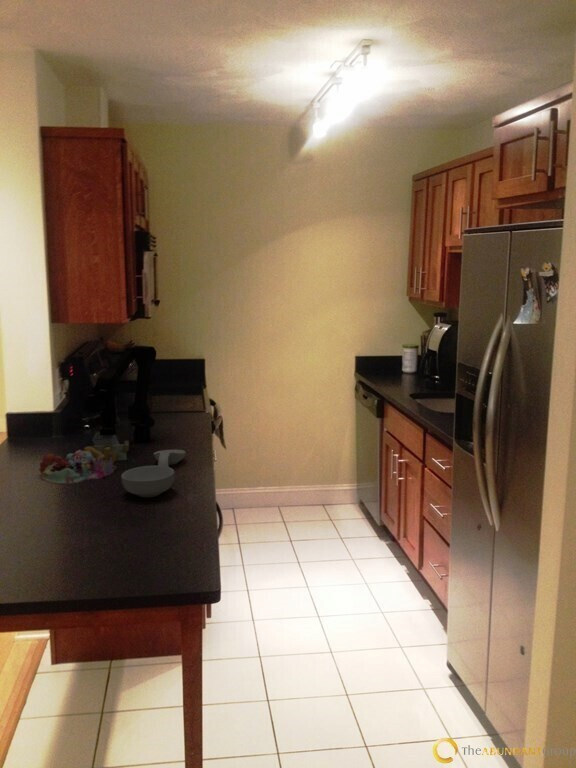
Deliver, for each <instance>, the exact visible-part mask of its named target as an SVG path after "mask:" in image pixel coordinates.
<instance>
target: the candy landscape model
mask: <svg viewBox="0 0 576 768" xmlns="http://www.w3.org/2000/svg"><path fill="white" fill-rule="evenodd" d="M90 446H91V445H90ZM90 446H84V448H83V450H82V449H78V450H76V451H75V452H73V453H68V454H67V456H66V458H65V460H64V459H63V458H62V456H61V455H56V456H54V454H53V453H46V454H44V456H43V457H42V461H41V462H40V463H39V466H40V468H39V472H40V474H39V477H40V479H42V480H44V481H45V482H48V483H51V484H57V485H75V484H79V482H80V483H82V482H84V480H85V481H94V480H101V479H103V478H104V477H105V478H107V477H110V476H111V475H113V474H114V473H115V470H117V468H118V467H117V466H116V465H114V464H115V462H116V461H115V459H116V455H117V452H114V453H110V451H111V448H110V447H106V448H104V454H102V453H101V452H100V451H97V450H96V449H94V448H92V447H90ZM54 463H56V464H54ZM53 464H54V465H53ZM52 465H53V466H52ZM49 466H52V468H49V469H47V468H48V467H49ZM46 469H47V470H46ZM90 479H92V480H90ZM93 479H94V480H93ZM74 483H75V484H74Z"/></svg>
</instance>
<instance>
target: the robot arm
mask: <svg viewBox="0 0 576 768" xmlns="http://www.w3.org/2000/svg"><path fill="white" fill-rule="evenodd" d="M156 358H157V350H156V348H155V347H154V346H151V345H149V346H147V345H138V346H137V347H136V346H126V347H125V349H124V352H122V354H121V355H120V357H119V358H118V359H117V361H115V363H114V364H113V365H112V367H110V369H109V370H107V371H104V372H103V373H102V374H101V375H100V376H98V378H97V379H96V382H95V385H94V387H93V389H92V392H91V394H90V395H87V399H85V401H84V403H83V409H84V411H85V412H86V413H87V414H90V415H91V414H95V415H94V416H92V417H88V418H87V419H86V425H87V426H88V428H89V429H93V428H94V427H97V426H99V425H100V428H99V432H100V435H116V436H117V434H118V431H119V426H117V425H120V418H119V417H118V415H117V414H118V409H117V399H116V398H117V397H116V396H119V395H120V392H118V391H117V389H118V387H119V385H120V384H121V378H122V376H123V374H125V372H126V371H127V369H128V368H129V367H130V366H131V365H132V364H133V361H134V360H135V363H136V365H137V372H136V373H137V374H136V383H135V384H136V385H135V392H134V402H133V403H132V404H131V405H128V411H127V419H128V421H129V424H130V426H131V427H134V428H133V440H134V442H135V443H146V442H147V443H151V442H152V433H151V432H152V431H151V428H153V427H155V424H156V423H155V422H156V421H155V420H154V418H153V417H152V416H151V412H150V411H151V410H150V406H149V405H148V402H147V401H148V394H149V393H148V392H149V383H150V374H151V369H152V367H153V365H154V364H155V362H156ZM99 412H100V413H99ZM96 413H99V414H96Z"/></svg>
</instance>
